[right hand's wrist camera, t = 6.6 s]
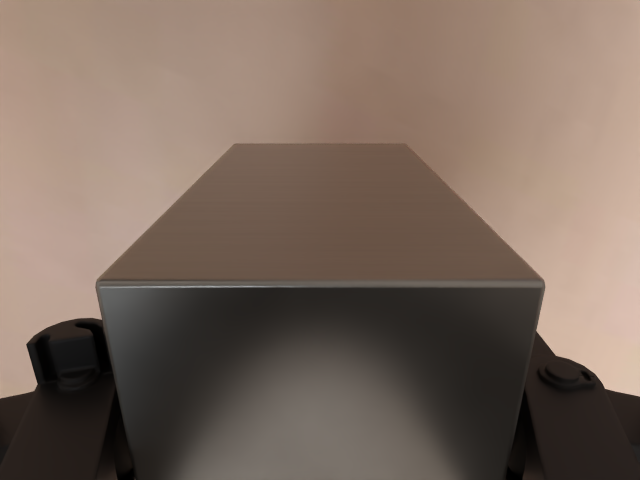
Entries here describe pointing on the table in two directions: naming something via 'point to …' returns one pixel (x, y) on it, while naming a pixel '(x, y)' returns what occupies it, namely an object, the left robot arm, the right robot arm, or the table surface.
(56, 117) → the table surface
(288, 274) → the bar
